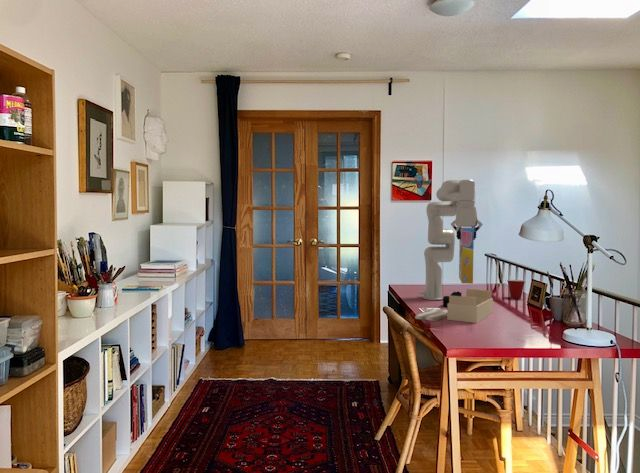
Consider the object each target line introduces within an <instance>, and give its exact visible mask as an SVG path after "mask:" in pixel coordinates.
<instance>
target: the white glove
mask: <svg viewBox="0 0 640 473" xmlns="http://www.w3.org/2000/svg"><path fill="white" fill-rule="evenodd" d="M446 317H447V309H441V308H429V309H427V310H426V311H423V312H420V313H418V314H416V315H415V316H414V319H415V320H423V321H429V322H430V321H432V322H437V321H440V320H443V318H446Z"/></svg>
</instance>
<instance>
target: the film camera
mask: <svg viewBox="0 0 640 473" xmlns="http://www.w3.org/2000/svg"><path fill="white" fill-rule="evenodd" d="M462 294H463V293H462V292H461V291H453V292H452V293H451V294H450V295H451V296H462ZM442 296H443V295H442ZM448 303H449V295H444V296H443V299H442V306H443V307H444V308H447V304H448Z"/></svg>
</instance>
